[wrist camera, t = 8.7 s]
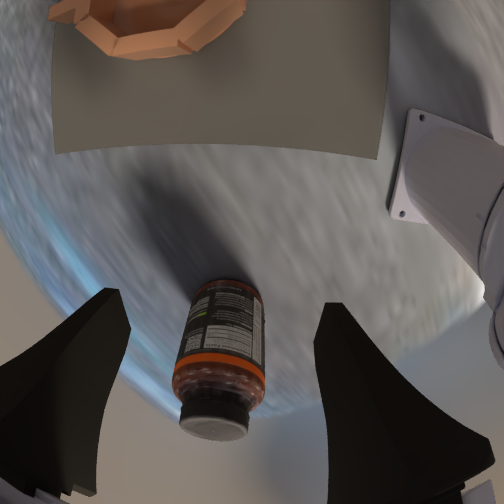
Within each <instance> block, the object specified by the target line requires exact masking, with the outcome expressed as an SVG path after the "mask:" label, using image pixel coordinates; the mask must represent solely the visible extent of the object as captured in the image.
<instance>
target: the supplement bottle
mask: <svg viewBox="0 0 504 504" xmlns="http://www.w3.org/2000/svg"><path fill="white" fill-rule="evenodd" d="M264 314H265V313H264V306H263V302H262V299H261V297H260V296H259V295H258V293H257V292H256V291H255V290H254V289H253V288H251V287H250V286H248V285H247V284H244V283H242V282H239V281H235V280H227V279H222V280H216V281H212V282H209V283H207V284H205V285H204V286H202V287H201V288H200V289H199V290H198V291H197V292H196V294H195V296H194V299H193V301H192V304H191V308H190V311H189V315H188V318H187V322H186V326H185V329H184V333H183V337H182V340H181V345H180V348H179V352H178V356H177V360H176V363H175V369H174V373H173V377H172V388H173V391H174V393H175V395H176V397H177V398H178V399H179V400H180V401H181V402H182V404H183V405H182V407H181V415H180V421H179V425H180V427H181V428H182V429H183V430H184V431H185V432H187V433H189V434H191V435H193V436H195V437H199V438H203V439H207V440H213V441H233V440H238V439H241V438H243V437H245V436H246V435H247V433H248V425H249V424H248V422H249V418H250V417H249V414H248V413H249V412H251V411H252V410H254V409H255V408H256V407H257V406H258V405H259V404H260V403H261V402H262V400H263V398H264V394H265V334H264V328H265V326H264V323H265V321H264Z"/></svg>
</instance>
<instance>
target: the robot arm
mask: <svg viewBox="0 0 504 504" xmlns="http://www.w3.org/2000/svg"><path fill="white" fill-rule="evenodd" d="M420 115H422V117H423V118H422V120H421V121H420V119H419V116H420ZM401 211H403V213H402V214H401V215H399V213H400V212H401ZM389 216H390V217H391V218H392V219H395V220H402V221H410V222H417V223H424V224H431V225H432V226H433V227H434V228H435V229H436V230H437V231H438V232H439V233H440V234H441V235H442V236H443V237H444V238H445V240H446V241H447V242H448V243H449V244H450V245H451V246H452V247H453V248H454V249H455V250H456V251H457V252H458V253H459V255H460V256H461V257H462V258H463V259H464V260H465V261H466V262H467V264H468V265H469V266H470V267H471V268H472V269H473V271H474V272H475V273H476V274H477V275H478V277H479V278H480V279H481V280H482V281H483V283H484V285H485V292H484V296H483V298H484V300H485V301H486V302H487V303H488V305H489V307H490V308H491V309H492V311H493V314H492V316H491V319H490V324H489V342H490V346H491V350H492V352H493V355H494V357H495V359H496V361H497V363H498V365H499V366H500V368H501V369H502V370H503V371H504V146H502V145H500V144H498V143H497V142H496V141H494V140H492V139H490V138H488V137H486V136H484V135H482V134H480V133H477V132H475V131H473V130H471V129H469V128H466V127H464V126H462V125H459V124H457V123H454V122H452V121H449V120H447V119H444V118H442V117H439V116H436V115H434V114H431V113H428V112H425V111H422V110H419V109H415V108H411V109H410V110H409V111H408V114H407V122H406V129H405V135H404V141H403V147H402V152H401V158H400V163H399V168H398V173H397V178H396V182H395V187H394V191H393V195H392V199H391V203H390V207H389ZM130 332H131V327H130V324H129V321H128V318H127V314H126V311H125V308H124V305H123V302H122V298H121V295H120V291H119V289H113V288H104V289H102V290H101V291H99V292H98V293H97V294H96V295H94V296H93V297H92V298H91V299H90V300H88V301H87V302H86V303H85V304H84V305H82V306H81V307H80V308H79V309H78V310H76V311H75V312H74V313H73V314H72V315H71V316H69V317H68V318H67V319H66V320H65V321H64V322H62V323H61V324H60V325H59V326H57V327H56V328H55V329H54V330H52V331H51V332H50V333H49V334H47V335H46V336H45V337H44V338H43V339H41V340H40V341H38V342H37V343H36V344H34V345H33V346H32V347H30V348H29V349H27V350H26V351H24V352H23V353H22V354H20V355H19V356H17V357H15V358H13V359H12V360H10V361H8V362H7V363H5V364H3V365H2V366H0V504H69V503H67V502H65V501H63V500H61V499H60V496H61V492H62V493H64V494H66V495H68V496H71V492H72V490H73V491H76V492H78V493H81V494H83V495H86V496H88V497H91V496H94V495H95V494H97V493H96V464H97V451H98V450H97V449H98V442H99V435H100V428H101V424H102V418H103V414H104V409H105V406H106V403H107V399H108V397H109V394H110V391H111V388H112V386H113V383H114V380H115V378H116V375H117V373H118V370H119V367H120V365H121V362H122V360H123V357H124V354H125V351H126V347H127V344H128V340H129V336H130ZM314 356H315V367H316V372H317V377H318V382H319V387H320V392H321V397H322V403H323V408H324V413H325V418H326V425H327V435H328V459H329V460H328V461H329V478H328V502H327V504H496V501H495V495H494V491H493V486H492V482H491V480H490V479H489V480H487V481H485V482H483V483H481V484H479V485H477V486H475V487H474V488H472V489H470V490H468V491H465V492H463V493H461V490H463V489H464V488H465V483H464V482H465V481H467V480H469V479H470V478H472V477H474V476H476V475H477V474H479V473H481V472H482V471H484V470H486V469H487V468H489V467H490V466H492V465H493V464H494V463H495V458H494V454H493V451H492V448H491V445H490V442H489V439H488V438H486V437H484V436H482V435H480V434H478V433H476V432H474V431H473V430H471V429H469V428H467V427H465V426H464V425H462V424H461V423H459V422H457V421H456V420H455V419H453V418H452V417H450V416H449V415H447V414H446V413H445V412H443V411H442V410H441V409H439V408H438V407H437V406H436V405H434V404H433V403H432V402H430V401H429V400H428V399H427V398H426V397H425V396H424V395H422V394H421V393H420V392H419V391H418V390H417V389H416V388H415V387H414V386H412V384H411V383H410V382H408V381H407V380H406V379H405V378H404V377H403V376H402V375H401V374H400V373H399V372H398V370H397V369H396V368H395V367H394V366H393V365H392V364H391V363H390V362H389V360H388V359H387V358H386V357H385V356H384V355H383V354H382V352H381V351H380V350H379V349H378V348H377V346H376V345H375V344H374V343H373V341H372V340H371V339H370V338H369V337H368V335H367V334H366V333H365V331H364V330H363V329H362V328H361V326H360V325H359V324H358V322H357V321H356V320H355V319H354V317H353V316H352V315H351V313H350V312H349V311H348V310H347V308H346V307H345V306H344V304H343V303H326V302H325V306H324V309H323V312H322V316H321V319H320V322H319V326H318V329H317V332H316V335H315V338H314Z"/></svg>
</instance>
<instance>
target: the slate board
mask: <svg viewBox="0 0 504 504" xmlns="http://www.w3.org/2000/svg"><path fill="white" fill-rule="evenodd" d="M61 1H63V0H59V2H61ZM76 25H77V24H74V21H73V22H71V23H68V24H67V23H62V22H56V25H55V33H54V42H53V54H52V76H51V100H52V123H53V136H54V146H55V154H61V153H68V152H75V151H83V150H91V149H100V148H110V147H122V146H136V145H155V144H238V145H258V146H272V147H284V148H295V149H305V150H314V151H322V152H329V153H337V154H343V155H350V156H356V157H362V158H368V159H374V160H377V155H378V149H379V143H380V137H381V130H382V123H383V115H384V107H385V98H386V89H387V77H388V64H389V44H390V0H247V2H246V10H243V15H242V16H241V17H239V18H238V19H237V20H235V21H234V22H233V23H232V24H231V26H230V27H229V28H228V29H227V30H225V31H224V32H223V33H222V34H221V35H220V36H218V37H217V38H216V39H214V40H213V41H211V42H209V43H208V44H206V45H205V46H203V47H202V48H201V49H200V50H199V51H198V52H196V51H195V50H194V51H192V54H187V55H178V56H173V57H167V58H150V59H143V60H137V61H136V60H131V59H125V58H119V57H113V56H108V55H107V54H106V53H105V52H104V51H102V50H101V49H100V48H99V47H98V46H97V45H95V44H94V43H93V42H92V41H91V40H89V39H88V38H87V37H86V36H85V35H83V34H82V33H81V32H80V31H79V30H77V29H76V28H75V26H76Z"/></svg>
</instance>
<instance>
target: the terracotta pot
mask: <svg viewBox="0 0 504 504" xmlns="http://www.w3.org/2000/svg"><path fill="white" fill-rule="evenodd" d="M246 2H247V0H63V1H61V2H59V3H57V4H55V5H53V6H51V7H50V9H49V15H48V20H50V21H56V22H62V23H67V24H68V23H71V22H73V21H74V24H77V25H76V26H75V28H76V29H77V30H79V31H80V32H81V33H82V34H83V35H85V36H86V37H87V38H88V39H89V40H91V41H92V42H93V43H94V44H95V45H97V46H98V47H99V48H100V49H101V50H102V51H104V52H105V53H106V54H107V55H108V56H113V57H119V58H125V59H131V60H136V61H137V60H143V59H150V58H167V57H173V56H178V55H187V54H192V51H194V50H195V51H196V52H198V51H199V50H200V49H201V48H202V47H203V46H205V45H206V44H208V43H209V42H211V41H213V40H214V39H216V38H217V37H218V36H220V35H221V34H222V33H223V32H224V31H225V30H227V29H228V28H229V27H230V26H231V24H232V23H233V22H234V21H235V20H237V19H238V18H239V17H241V16H242V15H243V10H246Z"/></svg>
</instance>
